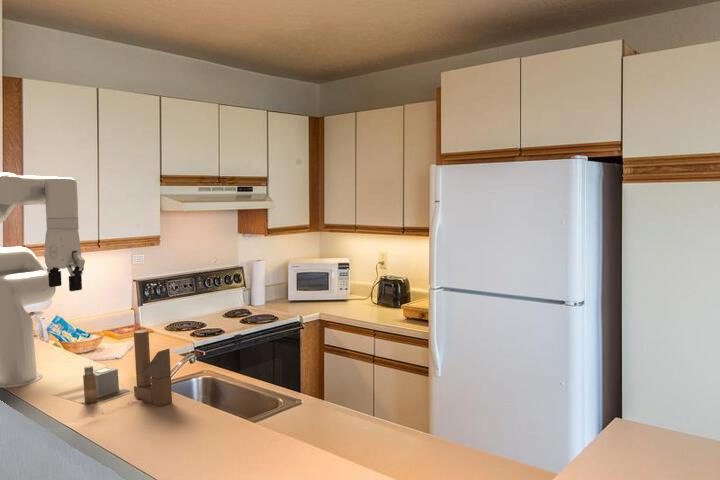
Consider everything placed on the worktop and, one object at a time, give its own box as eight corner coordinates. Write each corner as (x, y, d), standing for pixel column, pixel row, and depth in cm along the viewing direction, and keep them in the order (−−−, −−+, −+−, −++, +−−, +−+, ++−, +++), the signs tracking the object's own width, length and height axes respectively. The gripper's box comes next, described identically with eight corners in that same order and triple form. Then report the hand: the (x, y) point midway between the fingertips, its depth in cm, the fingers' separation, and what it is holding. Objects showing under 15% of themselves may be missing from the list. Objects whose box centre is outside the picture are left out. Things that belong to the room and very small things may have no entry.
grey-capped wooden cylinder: (82, 402, 147) (80, 368, 146) (92, 399, 149) (90, 365, 148) (89, 404, 145) (86, 369, 144) (99, 401, 147) (96, 366, 147)
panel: (52, 398, 154) (51, 393, 154) (93, 384, 164) (93, 380, 164) (92, 410, 144) (91, 406, 144) (133, 395, 154) (133, 391, 154)
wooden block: (161, 407, 145) (157, 336, 144) (134, 399, 151) (130, 332, 150) (173, 402, 148) (169, 333, 147) (145, 395, 154) (142, 329, 153)
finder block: (87, 392, 154) (86, 371, 154) (107, 386, 159) (106, 365, 159) (98, 396, 152) (97, 374, 151) (119, 389, 157) (117, 368, 156)
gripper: (30, 223, 154) (33, 286, 156) (67, 227, 144) (69, 294, 146) (58, 222, 160) (61, 283, 162) (95, 225, 151) (97, 290, 152)
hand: (65, 288), depth 154 cm, fingers open, 9 cm apart
